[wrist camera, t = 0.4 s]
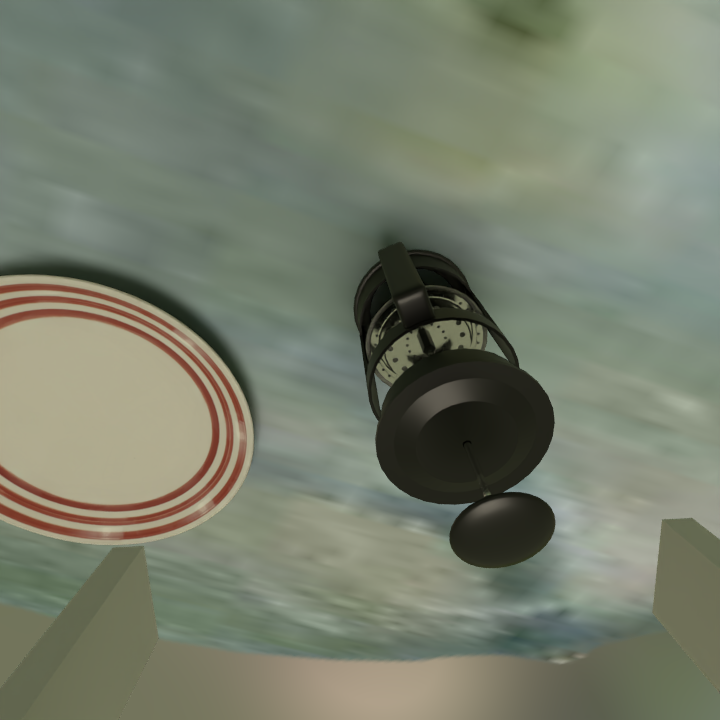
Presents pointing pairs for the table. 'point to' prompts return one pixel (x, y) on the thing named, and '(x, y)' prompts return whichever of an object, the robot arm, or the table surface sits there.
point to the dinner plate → (112, 416)
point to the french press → (454, 407)
